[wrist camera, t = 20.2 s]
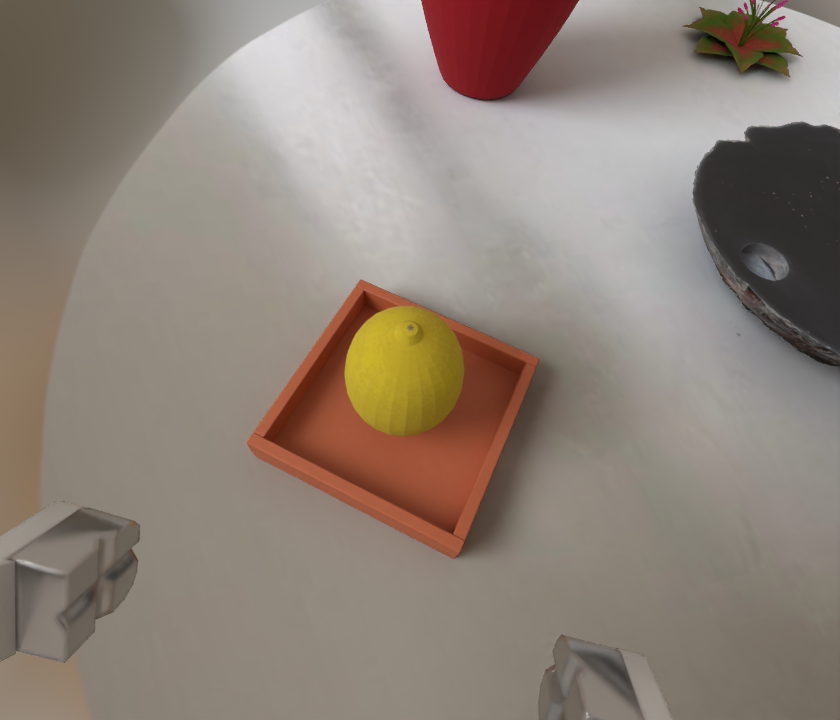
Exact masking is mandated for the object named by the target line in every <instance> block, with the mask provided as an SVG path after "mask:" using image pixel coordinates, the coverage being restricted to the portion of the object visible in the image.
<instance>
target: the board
mask: <svg viewBox="0 0 840 720" xmlns="http://www.w3.org/2000/svg"><path fill="white" fill-rule="evenodd" d="M744 133H745V138H746V141H738V140H736V141H734V140H727V141H722V140H718V141H717V142H716V144H715V146H714V147H713V148H712V149H711V150H710V152H708V153H706V154H705V155H704V158H703V159H702V161H701V162H700V165H698V166H697V170H696V171H695V177H696V178H695V179H694V183H693V184H694V188H693V203H694V205H695V209H696V213H697V216H698V221H699V225H700V229H701V231H702V235H703V238H704V241H705V243H706V245H707V248H708V250H709V252H710V254H711V256H712V258H713V260H714V263H715V265H716V267H717V269H718V271H719V272H720V275H721V276H722V277H723V278H722V279H723V281H724V282H725V284H727V285H728V286H729V287H731V288H730V289H731V290H733V292H735V293H736V294H737V295H738V296H737V297H738V298H739V299H740V300H741V301H742V304H743V305H744V306H745V308H746V309H747V310H751V311H752V313H753V314H755V315H757V316H758V317H759V318H760V319H761V320H762V321H763V323H764V324H765V325H767V326H768V327H769V328H770V329H771V330H773V331H774V332H776V333H778V335H780V336H783V337H784V339H786V340H787V341H788V342H789V343H790V344H792V345H793V346H794V347H795V348H797V349H798V350H799V351H801V352H804V353H805V354H807V355H809V356H810V357H812V358H814V359H815V360H817V361H819V362H821V363H825V364H828V365H832V366H840V129H838V128H835V127H832V126H828V125H821V126H813V125H810V124H808V123H805V122H793V123H791V124H786V125H783V126H750V127H748V128H747V130H746V131H745V132H744Z"/></svg>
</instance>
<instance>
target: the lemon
mask: <svg viewBox="0 0 840 720" xmlns="http://www.w3.org/2000/svg"><path fill="white" fill-rule="evenodd" d="M463 377H464V362H463V356H462V350H461V347H460V344H459V342H458V340H457V337H456V335H455V333H454V332H453V331H452V329H451V328H450V327H449V325H448V324H447V323H446V322H445V321H444V320H442V319H441V318H440V317H438V316H437V315H436V314H434V313H432V312H430V311H428V310H426V309H423V308H419V307H415V306H397V307H392V308H388V309H386V310H383V311H381V312H379V313H376V314H375V315H374V316H372V317H371V318H370V319H368V320H367V321H366V322H365V323H364V324H363V325H362V327H361V328H360V329H359V330H358V332H357V333H356V334H355V336H354V338H353V341H352V343H351V345H350V348H349V350H348V353H347V357H346V364H345V382H346V388H347V393H348V396H349V398H350V400H351V402H352V405H353V407H354V409H355V410H356V412H357V413H358V414H359V415H360V416H361V417H362V419H363V420H364V421H365V422H366V423H368V424H369V425H371V426H372V427H373V428H375V429H376V430H378V431H381V432H384V433H386V434H389V435H395V436H412V435H418V434H420V433H423V432H426V431H428V430H430V429H432V428H433V427H435V426H436V425H438V424H439V423H441V422H442V421H443V420H444V419H445V418H446V416H447V415H448V414H449V413H450V412H451V410H452V409H453V408H454V406H455V404H456V402H457V399H458V397H459V395H460V393H461V390H462V385H463Z"/></svg>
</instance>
